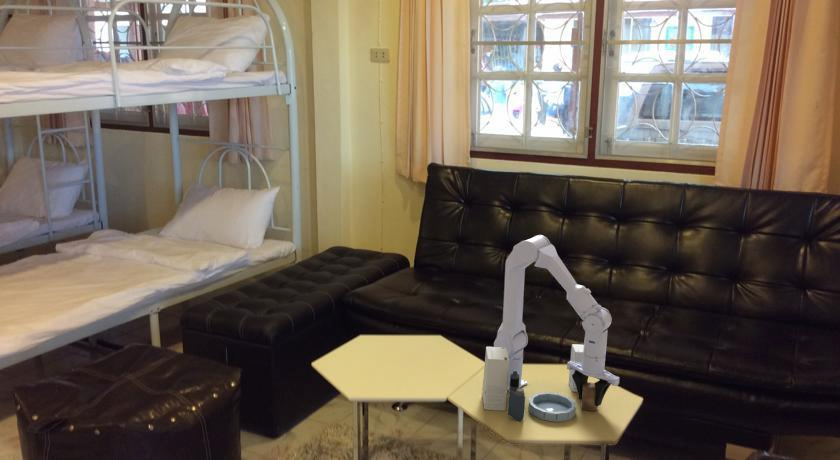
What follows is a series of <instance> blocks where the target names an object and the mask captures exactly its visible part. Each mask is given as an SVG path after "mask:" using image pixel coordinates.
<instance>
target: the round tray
mask: <svg viewBox="0 0 840 460" xmlns="http://www.w3.org/2000/svg"><path fill="white" fill-rule="evenodd" d="M576 406H577V403H576V402H575V401H574V400H573V399H572V398H571V397H570V396H567V395H564V394H562V393H559V392H549V391H548V392H547V391H546V392H537V393H535V394H533V395H530V396H529V401H528V412H529V413H530V414H531V415H532V416H534V417H535V418H537V419H539V420H543V421H546V422H553V423H561V422H568V421H569V420H572V419H573V418H574V417H575V415H576Z"/></svg>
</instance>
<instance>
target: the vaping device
mask: <svg viewBox="0 0 840 460" xmlns="http://www.w3.org/2000/svg"><path fill="white" fill-rule="evenodd" d="M510 378H511V380H510V388H509V390H508V401H507V405H508V406H507V415H508V416H509V417H510V418H511V419H513V420H514V421H516V422H521V421H523V420H524V417H525V409H526V408H525V407H526V406H525V405H526V395H525V389H524V388H523V387H520V388H519V374H517V371H513V374H511V375H510Z"/></svg>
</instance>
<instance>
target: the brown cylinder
mask: <svg viewBox="0 0 840 460" xmlns="http://www.w3.org/2000/svg"><path fill="white" fill-rule="evenodd" d="M595 383H596V382H587V383H584V384H583V389H582V400H580V401H581V403H580V407H581V408H582V409H584V410H586V411H596V410H598V409H599V406H595V397H596V391H595V385H594V384H595Z"/></svg>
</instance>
